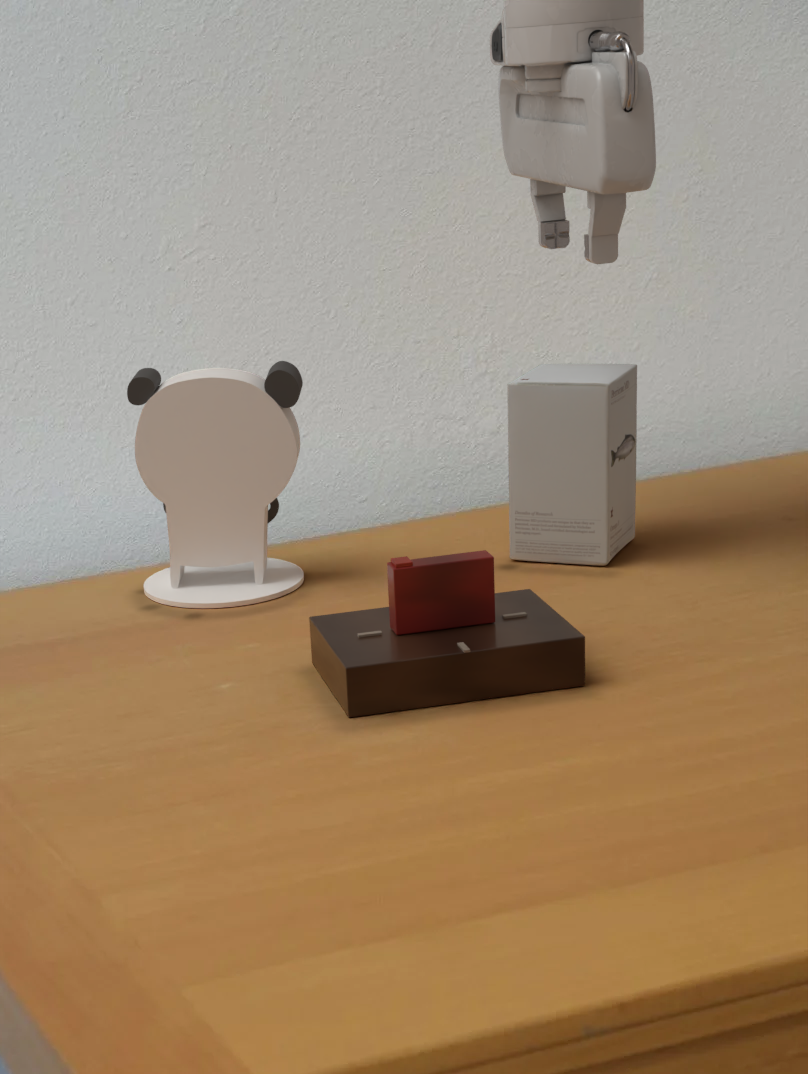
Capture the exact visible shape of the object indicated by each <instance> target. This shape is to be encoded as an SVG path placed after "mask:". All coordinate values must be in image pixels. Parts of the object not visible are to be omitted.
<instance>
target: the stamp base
mask: <svg viewBox="0 0 808 1074" xmlns="http://www.w3.org/2000/svg"><path fill="white" fill-rule="evenodd" d="M308 621H309V637H310V650H311V653H310V654H311V663H312V665H313V666H314V668H315V669H316V670H317V672H318V674H319V675H320V677H321V678H322V680H323V681H324V683H325V684H326V686H327V687H328V688H329V691H330V692H331V693H332V695H333V696H334V698H335V699H336V701H337V702H338V704H339V705H340V707H341V708H342V710H343V711H344V712H345V714H346V715H347V717H348V718H355V717H356V718H357V717H364V716H370V715H379V714H384V713H386V714H387V713H393V712H399V711H407V710H408V711H409V710H414V709H422V708H428V707H437V706H443V705H444V706H445V705H450V704H451V705H453V704H459V703H460V704H461V703H466V702H473V701H481V700H488V699H495V698H503V697H510V696H518V695H525V694H532V693H540V692H541V693H542V692H548V691H554V690H561V689H570V688H576V687H577V688H578V687H585V686H586V636H585V635H584V634H582V632H581V631H579V630H578V629H577V628H576V627H574V625H572V624H571V623H570V622H569V621H568V620H566V619H565V617H563V616H562V615H561V614H560V613H559V612H557V611H556V610H555V609H554V608H553V607H551V606H550V605H549V604H548V603H547V602H546V601H544V600H543V598H541V597H540V596H539V595H537V594H536V593H535V591H533V590H532V589H531V588H526V589H525V588H524V589H519V590H509V591H502V592H495V622H494V623H487V624H479V625H472V626H464V627H456V628H448V629H441V630H433V631H425V632H418V633H410V634H402V635H396V634H395V632H394V631H393V630H392V629H391V628H390V616H389V606H385V607H377V608H376V607H375V608H368V609H361V610H352V611H345V612H337V613H329V614H320V615H313V616H309V617H308Z"/></svg>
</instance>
